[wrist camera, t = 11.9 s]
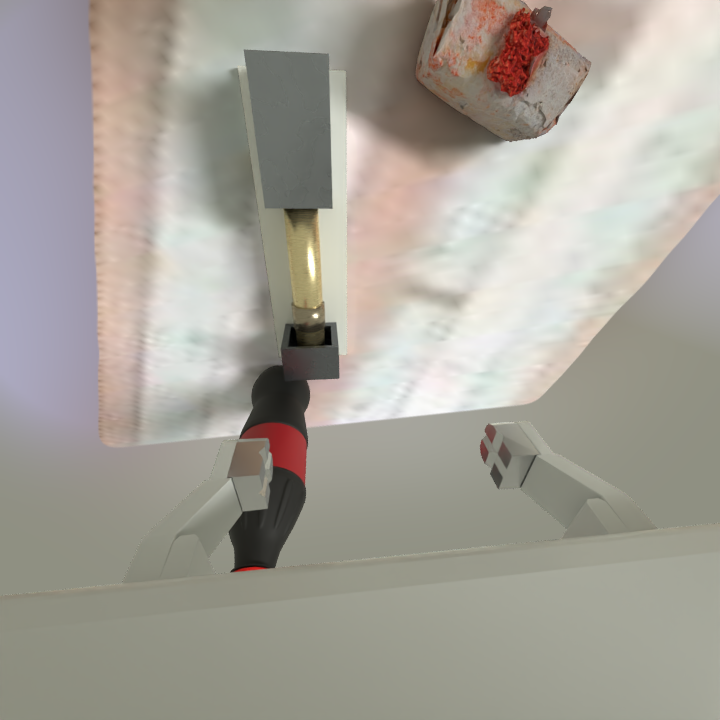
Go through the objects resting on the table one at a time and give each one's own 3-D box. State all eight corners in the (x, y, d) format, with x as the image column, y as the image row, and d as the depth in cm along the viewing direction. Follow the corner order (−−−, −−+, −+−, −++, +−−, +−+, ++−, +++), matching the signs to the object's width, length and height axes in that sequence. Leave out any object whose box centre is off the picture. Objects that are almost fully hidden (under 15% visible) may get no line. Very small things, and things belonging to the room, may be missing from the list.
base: (239, 67, 30) (237, 65, 29) (345, 72, 31) (346, 70, 30) (279, 354, 48) (279, 357, 47) (346, 352, 49) (347, 354, 48)
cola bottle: (248, 393, 51) (180, 626, 26) (266, 352, 47) (208, 579, 23) (298, 408, 54) (279, 632, 29) (319, 371, 50) (318, 591, 26)
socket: (285, 323, 44) (280, 349, 39) (336, 322, 45) (338, 347, 39) (289, 353, 47) (284, 381, 41) (337, 351, 48) (339, 378, 42)
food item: (398, 83, 32) (425, 62, 24) (440, -25, 28) (489, -94, 20) (504, 149, 36) (557, 151, 28) (553, 63, 32) (631, 36, 24)
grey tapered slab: (257, 66, 30) (243, 49, 24) (327, 69, 30) (328, 53, 25) (272, 198, 36) (264, 208, 30) (330, 199, 36) (332, 208, 31)
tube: (281, 190, 34) (277, 195, 31) (319, 191, 34) (319, 196, 31) (297, 347, 45) (296, 363, 42) (326, 346, 45) (327, 362, 42)
